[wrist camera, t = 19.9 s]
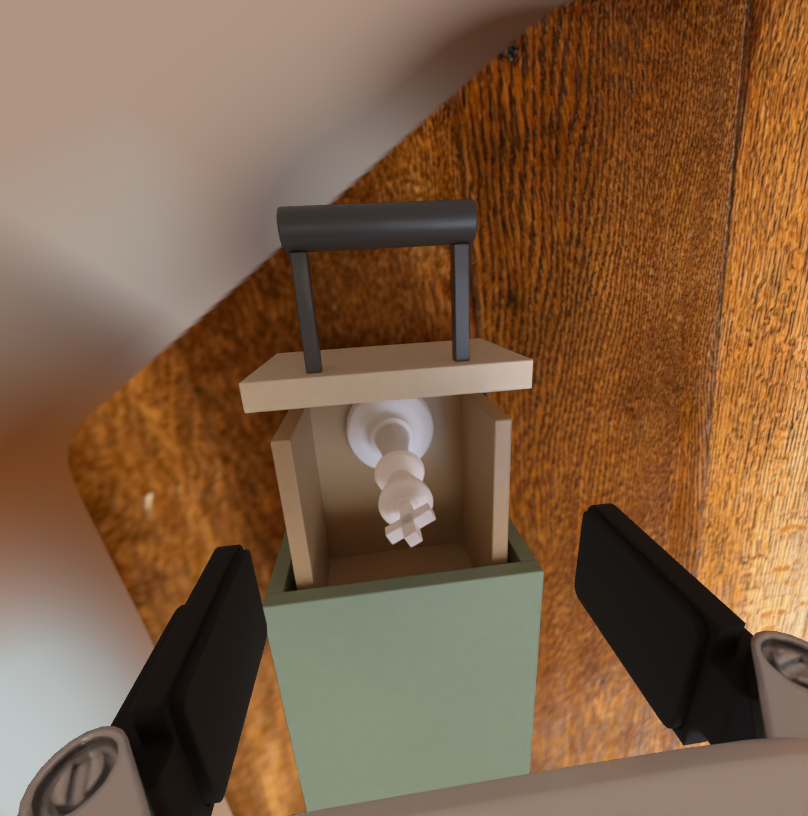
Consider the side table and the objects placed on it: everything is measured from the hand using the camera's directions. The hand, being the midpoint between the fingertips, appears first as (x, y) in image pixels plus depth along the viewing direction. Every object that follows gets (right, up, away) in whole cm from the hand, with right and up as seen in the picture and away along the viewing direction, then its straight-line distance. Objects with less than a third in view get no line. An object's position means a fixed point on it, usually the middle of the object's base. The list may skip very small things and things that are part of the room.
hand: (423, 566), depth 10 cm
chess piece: (-1, +3, +11) cm, 12 cm away
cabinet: (-1, -8, +17) cm, 18 cm away
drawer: (-2, +4, +12) cm, 12 cm away
